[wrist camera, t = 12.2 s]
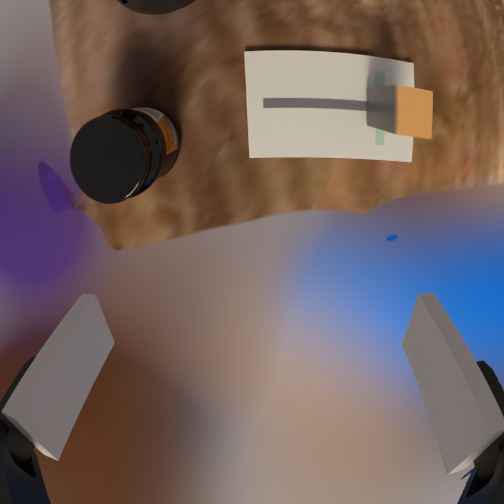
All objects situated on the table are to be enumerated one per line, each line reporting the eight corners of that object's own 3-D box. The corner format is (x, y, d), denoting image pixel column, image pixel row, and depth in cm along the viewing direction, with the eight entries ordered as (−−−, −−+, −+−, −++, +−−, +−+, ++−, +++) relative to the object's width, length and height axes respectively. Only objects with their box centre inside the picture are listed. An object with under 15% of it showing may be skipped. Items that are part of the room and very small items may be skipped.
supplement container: (167, 93, 35) (128, 93, 24) (194, 164, 39) (165, 189, 29) (103, 125, 37) (53, 138, 26) (129, 189, 41) (88, 221, 31)
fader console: (244, 52, 32) (244, 51, 31) (410, 63, 30) (413, 63, 29) (249, 156, 38) (249, 158, 37) (408, 160, 37) (411, 162, 36)
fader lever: (366, 87, 32) (397, 85, 23) (395, 91, 31) (432, 91, 22) (366, 125, 34) (397, 134, 25) (395, 128, 34) (431, 139, 25)
